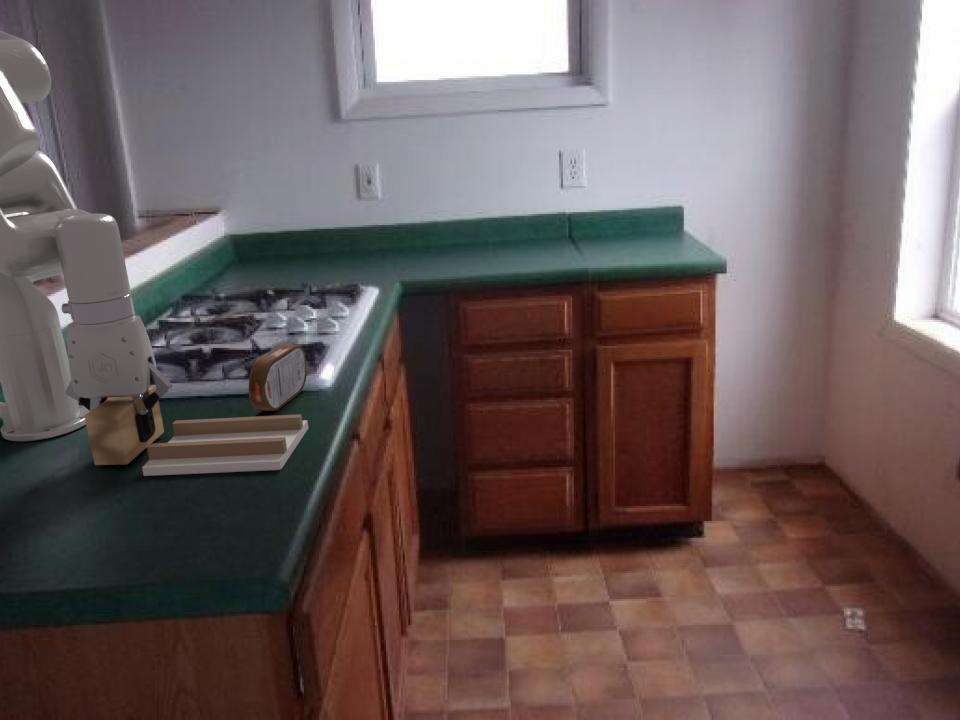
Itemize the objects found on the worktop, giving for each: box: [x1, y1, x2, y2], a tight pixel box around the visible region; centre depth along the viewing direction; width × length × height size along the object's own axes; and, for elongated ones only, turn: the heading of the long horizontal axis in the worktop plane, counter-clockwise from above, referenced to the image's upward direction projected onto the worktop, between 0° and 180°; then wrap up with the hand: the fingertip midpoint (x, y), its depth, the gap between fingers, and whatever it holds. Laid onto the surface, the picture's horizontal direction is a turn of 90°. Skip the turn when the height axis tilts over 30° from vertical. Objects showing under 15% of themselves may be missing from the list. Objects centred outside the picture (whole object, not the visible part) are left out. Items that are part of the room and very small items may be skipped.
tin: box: [248, 343, 308, 412], centre depth 133 cm, size 15×3×8 cm, turn 166°
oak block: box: [84, 385, 165, 466], centre depth 117 cm, size 4×11×7 cm, turn 174°
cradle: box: [141, 413, 309, 477], centre depth 116 cm, size 18×14×3 cm
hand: (128, 437), depth 118 cm, fingers closed on oak block, 4 cm apart
